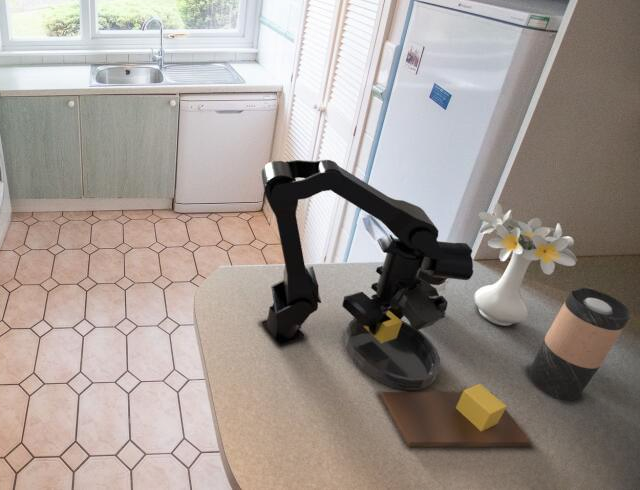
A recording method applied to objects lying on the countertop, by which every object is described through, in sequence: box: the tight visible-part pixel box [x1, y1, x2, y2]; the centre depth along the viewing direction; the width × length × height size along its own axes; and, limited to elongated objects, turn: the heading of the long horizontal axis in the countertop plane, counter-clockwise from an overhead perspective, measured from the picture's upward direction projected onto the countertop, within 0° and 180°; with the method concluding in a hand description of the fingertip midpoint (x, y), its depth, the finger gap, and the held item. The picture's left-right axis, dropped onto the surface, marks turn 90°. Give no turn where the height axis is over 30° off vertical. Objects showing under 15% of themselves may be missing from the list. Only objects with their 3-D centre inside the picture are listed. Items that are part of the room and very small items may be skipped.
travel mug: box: [528, 287, 631, 401], centre depth 81 cm, size 8×8×20 cm
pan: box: [343, 317, 441, 391], centre depth 90 cm, size 16×16×3 cm
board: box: [380, 391, 532, 448], centre depth 78 cm, size 20×9×1 cm, turn 90°
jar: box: [418, 266, 449, 296], centre depth 101 cm, size 9×8×12 cm
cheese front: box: [456, 383, 507, 431], centre depth 77 cm, size 4×4×4 cm
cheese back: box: [364, 311, 402, 343], centre depth 91 cm, size 4×4×4 cm
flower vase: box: [473, 202, 579, 327], centre depth 96 cm, size 13×18×25 cm
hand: (380, 330), depth 92 cm, fingers closed on cheese back, 4 cm apart
